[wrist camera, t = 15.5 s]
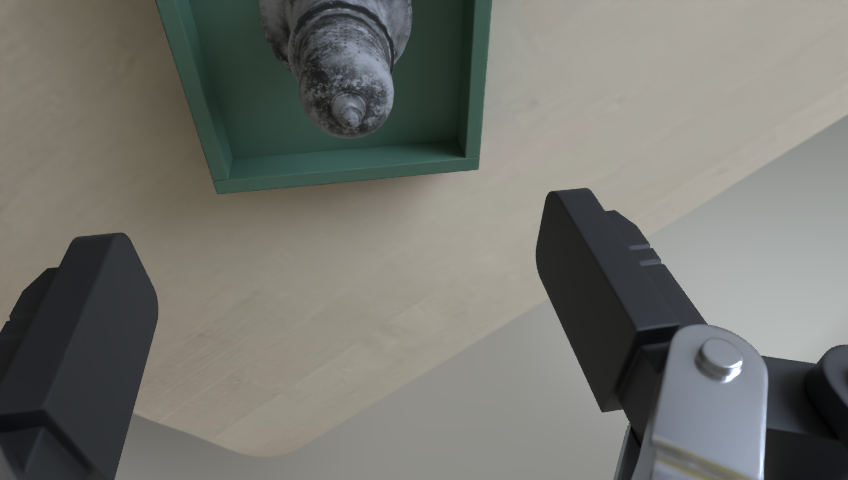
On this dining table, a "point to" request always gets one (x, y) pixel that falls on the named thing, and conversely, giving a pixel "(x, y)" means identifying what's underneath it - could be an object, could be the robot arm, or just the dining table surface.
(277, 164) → the tray
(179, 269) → the dining table surface
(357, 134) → the salt shaker
